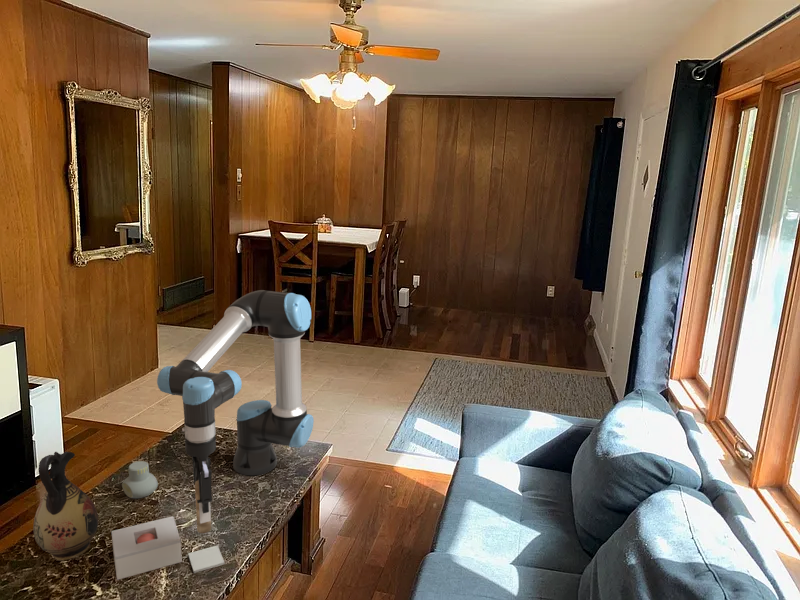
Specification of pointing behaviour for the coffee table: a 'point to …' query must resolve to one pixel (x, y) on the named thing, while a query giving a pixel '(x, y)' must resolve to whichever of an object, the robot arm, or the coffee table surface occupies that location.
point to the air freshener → (139, 481)
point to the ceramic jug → (63, 512)
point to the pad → (205, 559)
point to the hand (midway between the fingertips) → (203, 517)
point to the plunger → (145, 538)
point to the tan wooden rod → (203, 526)
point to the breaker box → (146, 547)
